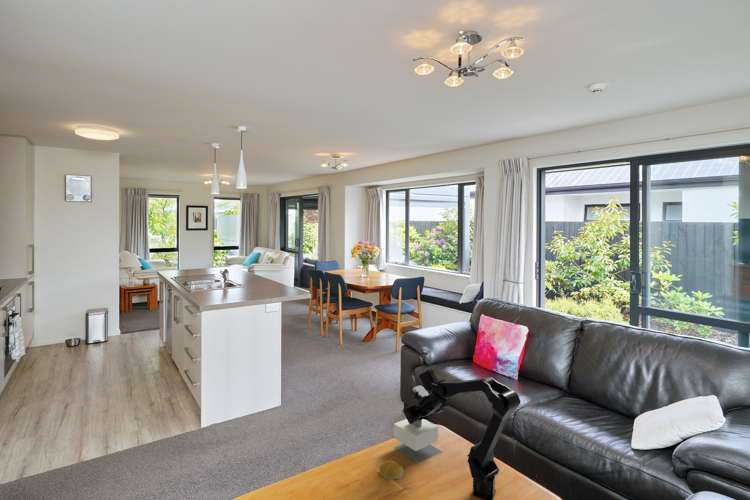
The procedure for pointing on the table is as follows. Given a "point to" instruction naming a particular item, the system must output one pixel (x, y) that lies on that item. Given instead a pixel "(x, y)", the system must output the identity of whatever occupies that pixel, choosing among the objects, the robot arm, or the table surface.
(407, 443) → the cover
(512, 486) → the table surface
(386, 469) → the bread roll
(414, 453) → the mat
